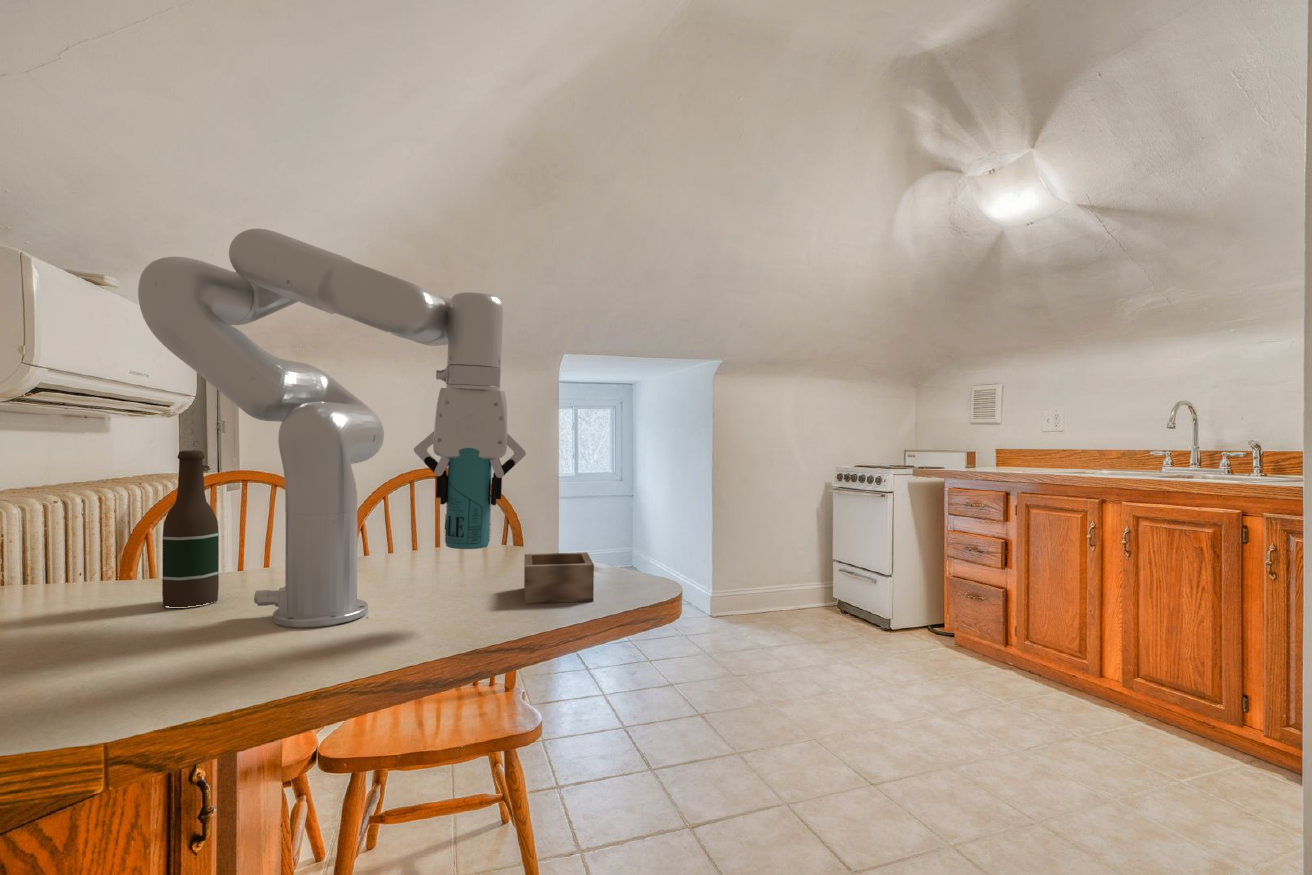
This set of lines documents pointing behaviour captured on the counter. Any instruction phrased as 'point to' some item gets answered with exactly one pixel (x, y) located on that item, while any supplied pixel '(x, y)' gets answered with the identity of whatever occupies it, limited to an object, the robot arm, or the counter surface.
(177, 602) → the beer bottle
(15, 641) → the counter surface
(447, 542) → the beverage bottle
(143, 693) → the counter surface
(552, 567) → the holder
